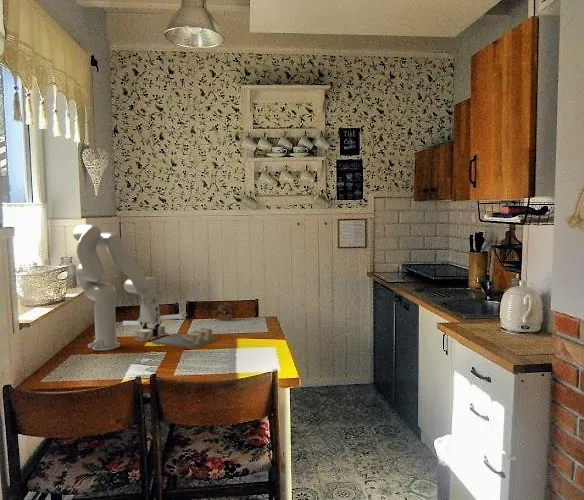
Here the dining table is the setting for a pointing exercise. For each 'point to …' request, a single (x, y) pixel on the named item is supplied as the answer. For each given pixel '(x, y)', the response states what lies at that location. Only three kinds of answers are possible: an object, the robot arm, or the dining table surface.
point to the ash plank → (149, 333)
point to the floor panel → (178, 341)
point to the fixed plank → (197, 336)
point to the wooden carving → (224, 312)
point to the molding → (166, 317)
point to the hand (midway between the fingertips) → (150, 334)
